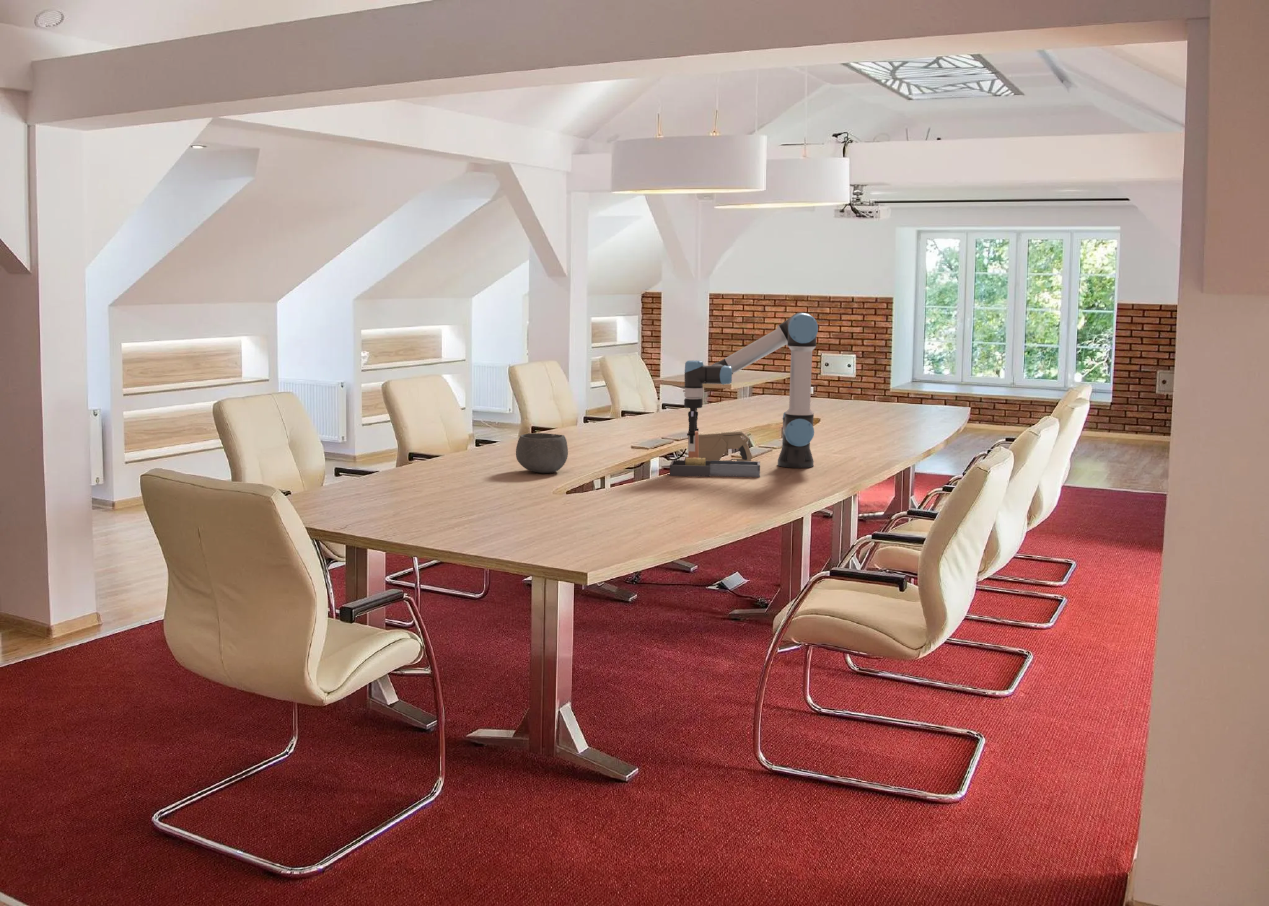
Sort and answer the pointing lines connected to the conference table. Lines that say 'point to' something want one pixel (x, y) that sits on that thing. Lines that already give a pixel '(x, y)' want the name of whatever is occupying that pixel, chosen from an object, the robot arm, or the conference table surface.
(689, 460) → the tan wooden cube
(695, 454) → the salmon pink rectangular prism
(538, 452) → the bowl
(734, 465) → the rail
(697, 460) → the tan cube
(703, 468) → the tray
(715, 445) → the gun
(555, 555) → the conference table surface
